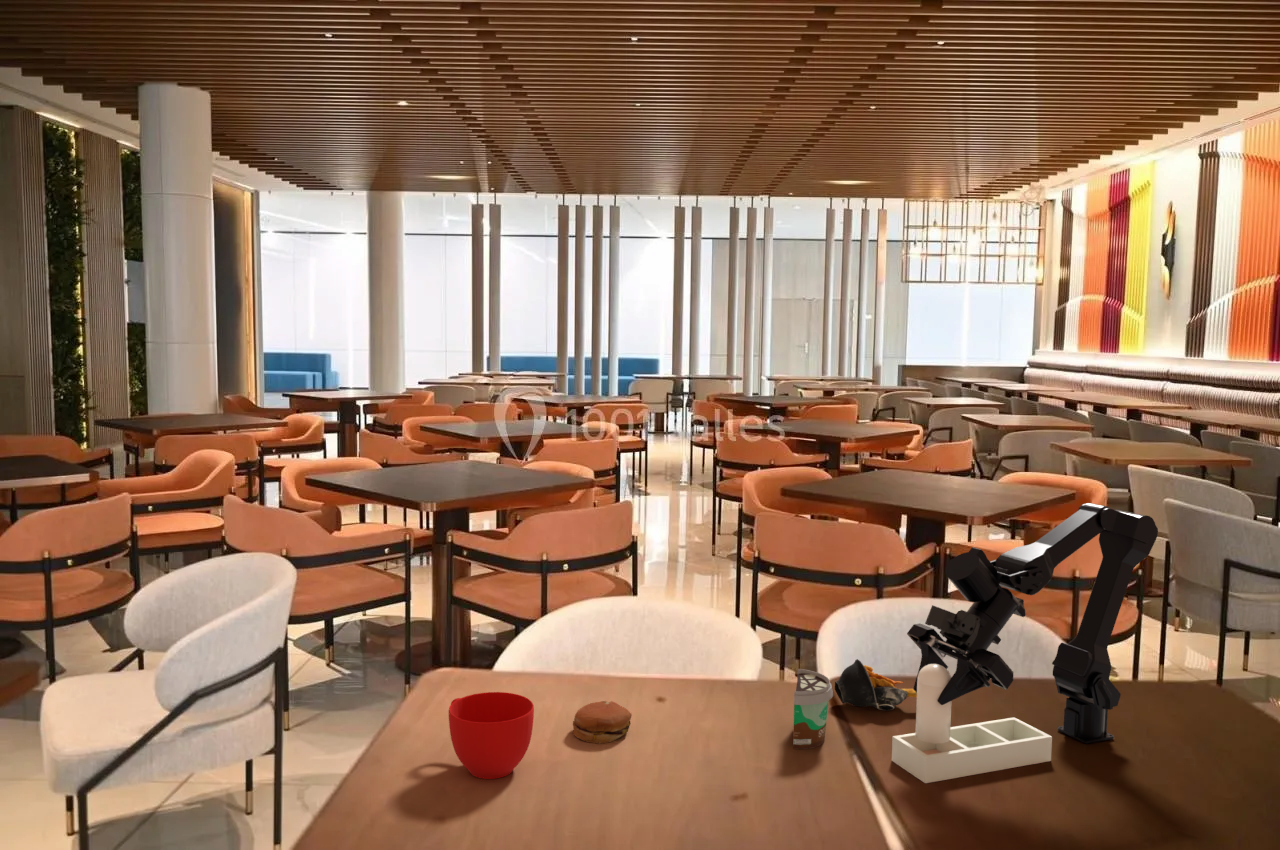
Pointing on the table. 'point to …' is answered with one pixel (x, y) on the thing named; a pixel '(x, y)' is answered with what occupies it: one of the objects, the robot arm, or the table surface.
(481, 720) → the ceramic cup
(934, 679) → the cream capsule cylinder
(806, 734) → the food container
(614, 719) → the burger
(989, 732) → the compartment tray
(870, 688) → the fried shrimp in bowl
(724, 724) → the table surface
